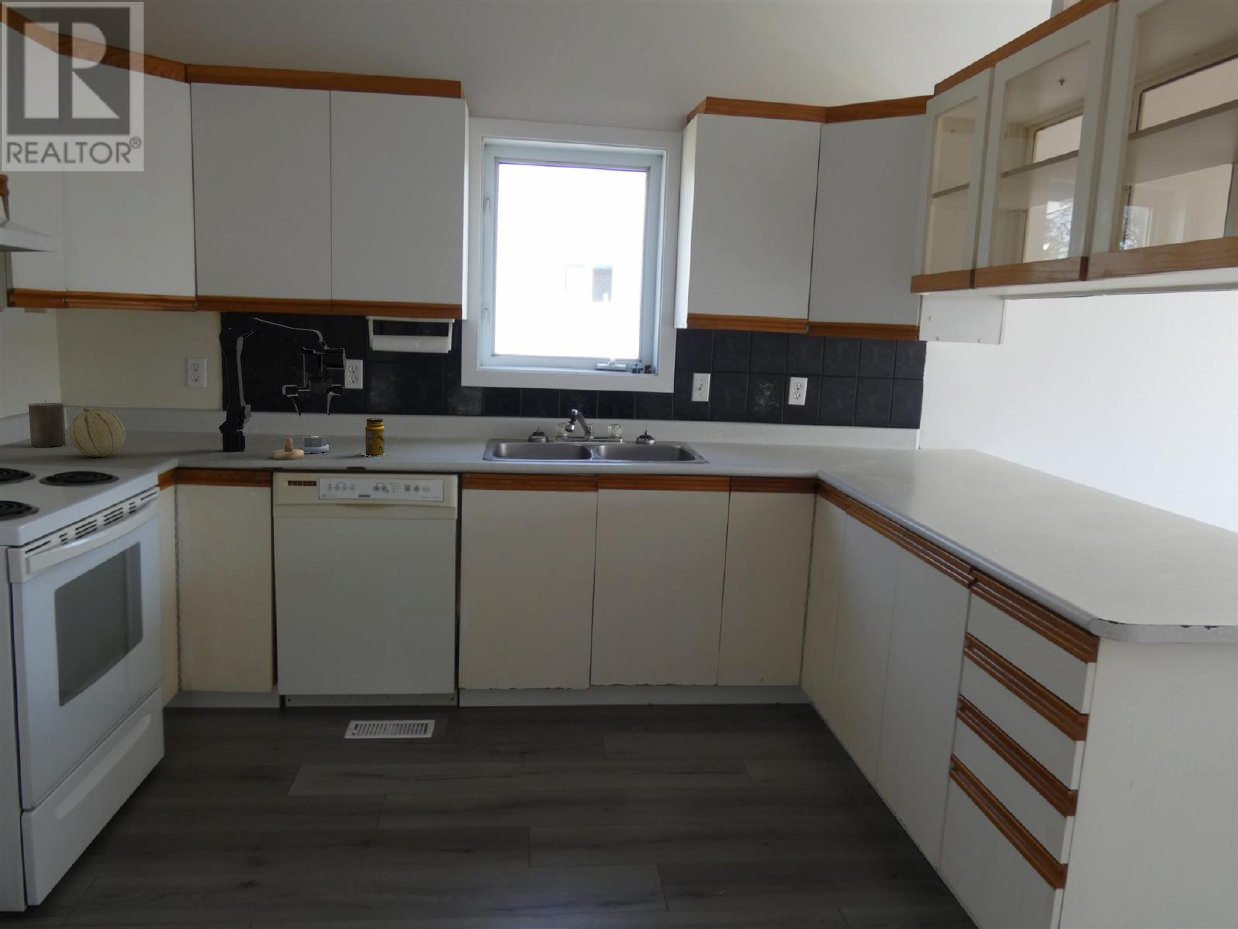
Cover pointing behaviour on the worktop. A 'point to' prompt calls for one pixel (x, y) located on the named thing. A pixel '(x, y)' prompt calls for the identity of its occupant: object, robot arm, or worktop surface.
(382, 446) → the condiment
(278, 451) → the stand
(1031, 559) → the worktop surface
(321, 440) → the ring
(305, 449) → the hub
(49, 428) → the pillar candle
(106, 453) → the cantaloupe
